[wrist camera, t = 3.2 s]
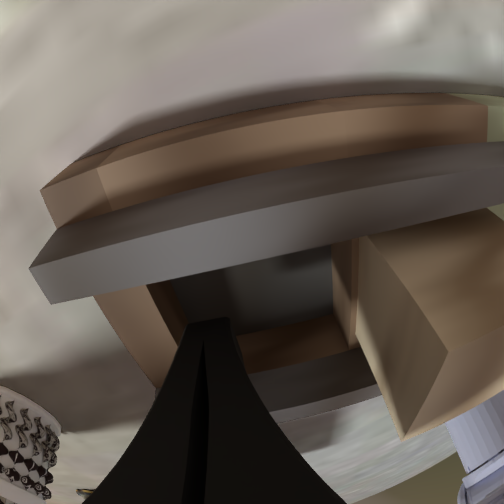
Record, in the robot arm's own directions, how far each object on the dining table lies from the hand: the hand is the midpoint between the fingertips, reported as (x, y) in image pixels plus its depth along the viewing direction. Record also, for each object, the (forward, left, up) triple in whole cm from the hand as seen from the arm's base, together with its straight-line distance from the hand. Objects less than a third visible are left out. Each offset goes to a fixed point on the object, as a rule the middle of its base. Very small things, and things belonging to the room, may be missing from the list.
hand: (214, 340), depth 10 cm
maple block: (-8, 0, -1) cm, 8 cm away
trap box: (-11, 0, -3) cm, 12 cm away
